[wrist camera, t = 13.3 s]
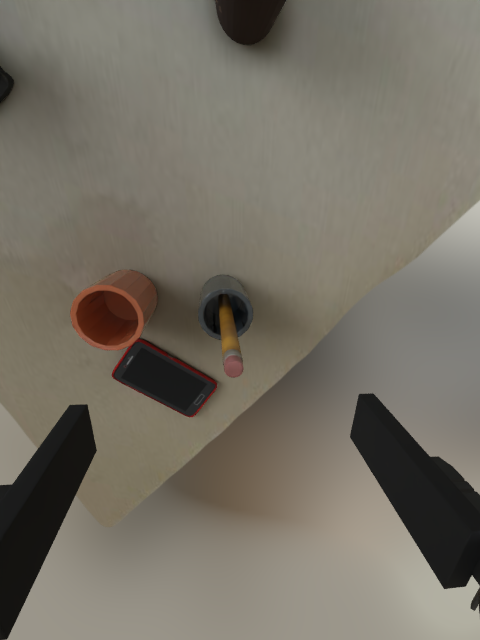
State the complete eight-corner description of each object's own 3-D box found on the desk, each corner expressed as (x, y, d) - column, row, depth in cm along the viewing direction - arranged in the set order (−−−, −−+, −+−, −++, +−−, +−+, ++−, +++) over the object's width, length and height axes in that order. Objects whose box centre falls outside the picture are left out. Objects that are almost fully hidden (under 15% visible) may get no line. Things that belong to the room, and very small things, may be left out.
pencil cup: (97, 269, 38) (64, 285, 29) (155, 269, 38) (140, 285, 30) (105, 322, 40) (77, 350, 32) (159, 321, 41) (146, 349, 33)
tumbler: (200, 274, 39) (197, 288, 32) (246, 274, 40) (254, 288, 32) (201, 317, 41) (198, 340, 34) (244, 317, 42) (251, 339, 35)
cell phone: (192, 415, 47) (192, 419, 46) (111, 373, 43) (108, 377, 42) (219, 382, 45) (219, 385, 44) (136, 335, 41) (135, 337, 40)
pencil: (218, 292, 40) (223, 360, 21) (229, 293, 40) (244, 360, 22) (217, 303, 40) (223, 378, 22) (229, 303, 40) (244, 378, 22)
